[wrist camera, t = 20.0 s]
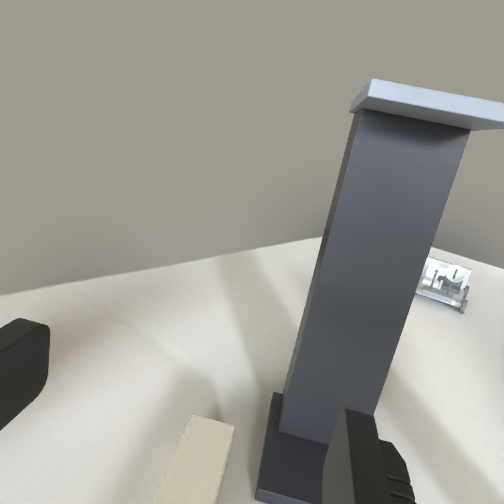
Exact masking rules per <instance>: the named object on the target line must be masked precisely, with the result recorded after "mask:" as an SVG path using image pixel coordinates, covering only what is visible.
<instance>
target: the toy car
mask: <svg viewBox="0 0 504 504" xmlns="http://www.w3.org/2000/svg"><path fill="white" fill-rule="evenodd" d="M471 271H472V270H471V269H468V268H464V267H461V266H458V265H454V264H451V263H448V262H444V261H441V260H438V259H434V258H431V257H427V260H426V263H425V266H424V269H423V272H422V274H421V277H420V280H419V283H418V286H417V289H416V292H415V293H418V294H421V295H424V296H427V297H430V298H433V299H436V300H439V301H442V302H445V303H448V304H450V305H453V306H456V307H459V308H460V309H459V313H463V312H464V310H465V308H466V305H467V300H465V299H463V298H466V296H467V293H468V290H469V286H466V284H467V282H468V279H469V276H470V274H471Z"/></svg>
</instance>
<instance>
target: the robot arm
mask: <svg viewBox="0 0 504 504" xmlns="http://www.w3.org/2000/svg"><path fill="white" fill-rule="evenodd" d="M49 348H50V329H49V327H48V326H47V325H44V324H40V323H37V322H33V321H29V320H26V319H22V318H18V319H15V320H13V321H12V322H10V323H8V324H7V325H5V326H3V327H2V328H0V431H1V430H2V429H3V428H4V427H5V426H6V425H7V424H8V423H9V422H10V421H11V420H13V419H14V418H15V417H16V416H17V415H18V414H19V413H20V412H21V411H22V410H23V409H25V408H26V407H27V406H28V405H29V404H30V403H31V402H32V401H33V400H34V399H35V398H36V397H37V396H38V395H39V394H40V392H41V391H42V389H43V387H44V385H45V383H46V380H47V377H48V365H49ZM322 498H323V504H417V503H415V496H414V492H413V489H412V486H411V485H410V478H409V474H408V471H407V467H406V463H405V461H404V460H403V458H402V457H401V455H400V454H399V452H398V451H397V450H396V448H395V447H394V445H393V444H392V443H390V442H387V441H383V440H379V438H378V433H377V428H376V423H375V419H374V416H373V415H369V414H365V413H362V412H358V411H354V410H351V409H347V408H342V410H341V412H340V415H339V418H338V421H337V424H336V427H335V430H334V433H333V436H332V439H331V442H330V445H329V449H328V452H327V455H326V459H325V463H324V469H323V478H322Z"/></svg>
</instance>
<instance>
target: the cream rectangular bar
mask: <svg viewBox="0 0 504 504" xmlns="http://www.w3.org/2000/svg"><path fill="white" fill-rule="evenodd" d="M234 431H235V426H234V425H230V424H227V423H223V422H220V421H216V420H212V419H209V418H205V417H202V416H198V415H194V414H192V416H191V418H190V420H189V422H188V425H187V427H186V429H185V431H184V433H183V435H182V438H181V440H180V442H179V444H178V446H177V449H176V451H175V453H174V455H173V457H172V459H171V462H170V464H169V466H168V468H167V470H166V473H165V475H164V477H163V479H162V481H161V484H160V486H159V488H158V490H157V492H156V494H155V497H154V499H153V501H152V503H151V504H216V500H217V497H218V493H219V490H220V486H221V483H222V479H223V475H224V472H225V468H226V465H227V461H228V457H229V454H230V449H231V445H232V440H233V436H234Z"/></svg>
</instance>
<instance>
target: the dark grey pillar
mask: <svg viewBox="0 0 504 504" xmlns="http://www.w3.org/2000/svg"><path fill="white" fill-rule="evenodd" d="M349 112H350V113H354V118H353V122H352V126H351V130H350V133H349V137H348V142H347V145H346V149H345V153H344V157H343V161H342V165H341V169H340V172H339V176H338V180H337V184H336V188H335V192H334V196H333V200H332V204H331V207H330V211H329V215H328V219H327V223H326V227H325V231H324V235H323V238H322V242H321V246H320V250H319V254H318V258H317V262H316V266H315V269H314V273H313V277H312V281H311V285H310V289H309V293H308V297H307V301H306V304H305V308H304V312H303V316H302V320H301V324H300V328H299V332H298V336H297V339H296V343H295V347H294V351H293V355H292V359H291V363H290V367H289V371H288V374H287V378H286V382H285V386H284V390H283V394H280V393H276V392H273V396H272V400H271V406H270V412H269V418H268V424H267V429H266V435H265V441H264V447H263V453H262V459H261V465H260V471H259V476H258V482H257V488H256V494H255V500H258V501H262V502H265V503H268V504H323V498H322V478H323V469H324V463H325V459H326V455H327V452H328V449H329V445H330V442H331V439H332V436H333V433H334V430H335V427H336V424H337V421H338V418H339V415H340V412H341V410H342V408H347V409H351V410H354V411H358V412H362V413H365V414H369V415H374V412H375V409H376V406H377V403H378V400H379V397H380V394H381V391H382V389H383V386H384V383H385V380H386V377H387V374H388V371H389V368H390V365H391V362H392V359H393V356H394V353H395V350H396V348H397V345H398V342H399V339H400V336H401V333H402V330H403V327H404V324H405V321H406V318H407V315H408V312H409V309H410V307H411V304H412V301H413V298H414V295H415V292H416V289H417V286H418V283H419V280H420V277H421V274H422V271H423V269H424V266H425V263H426V260H427V257H428V254H429V251H430V248H431V245H432V242H433V239H434V236H435V233H436V230H437V227H438V225H439V222H440V218H441V216H442V213H443V210H444V207H445V204H446V201H447V198H448V195H449V192H450V189H451V186H452V184H453V181H454V178H455V175H456V172H457V169H458V166H459V163H460V160H461V157H462V154H463V151H464V148H465V145H466V143H467V140H468V137H469V134H470V131H477V130H491V129H504V103H501V102H495V101H490V100H485V99H479V98H474V97H469V96H463V95H458V94H452V93H447V92H442V91H437V90H431V89H426V88H421V87H415V86H410V85H405V84H400V83H394V82H389V81H384V80H378V79H371V80H370V82H369V83H368V84H367V85H366V86H365V87H364V88H363V90H362V91H361V92H360V93H359V94H358V95H357V96H356V97H355V99H354V100H353V101H352V103H351V107H350V111H349Z"/></svg>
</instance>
